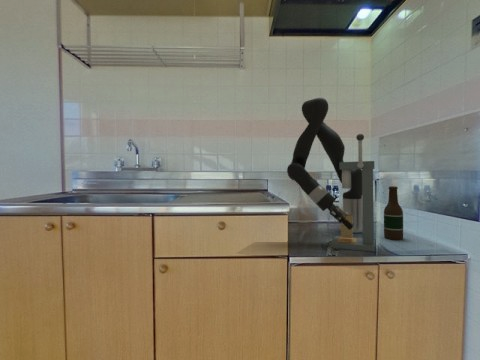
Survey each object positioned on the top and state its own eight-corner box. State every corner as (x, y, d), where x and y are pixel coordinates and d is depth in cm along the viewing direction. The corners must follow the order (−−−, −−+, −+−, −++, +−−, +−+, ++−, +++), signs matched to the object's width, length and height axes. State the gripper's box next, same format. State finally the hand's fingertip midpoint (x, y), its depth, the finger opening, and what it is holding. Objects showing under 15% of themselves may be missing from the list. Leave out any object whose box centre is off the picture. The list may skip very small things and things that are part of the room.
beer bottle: (392, 240, 119) (392, 186, 118) (380, 236, 126) (379, 186, 126) (407, 239, 120) (407, 186, 120) (394, 235, 128) (393, 186, 127)
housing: (341, 234, 115) (341, 211, 115) (352, 235, 113) (352, 211, 113) (340, 237, 111) (340, 212, 111) (352, 238, 109) (352, 213, 109)
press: (335, 240, 121) (334, 139, 120) (374, 243, 114) (373, 136, 113) (331, 247, 109) (330, 135, 108) (375, 251, 102) (374, 131, 101)
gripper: (325, 192, 109) (358, 224, 104) (330, 190, 122) (359, 218, 117) (312, 205, 111) (343, 236, 106) (318, 202, 124) (346, 229, 119)
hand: (351, 227), depth 111 cm, fingers closed on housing, 4 cm apart
